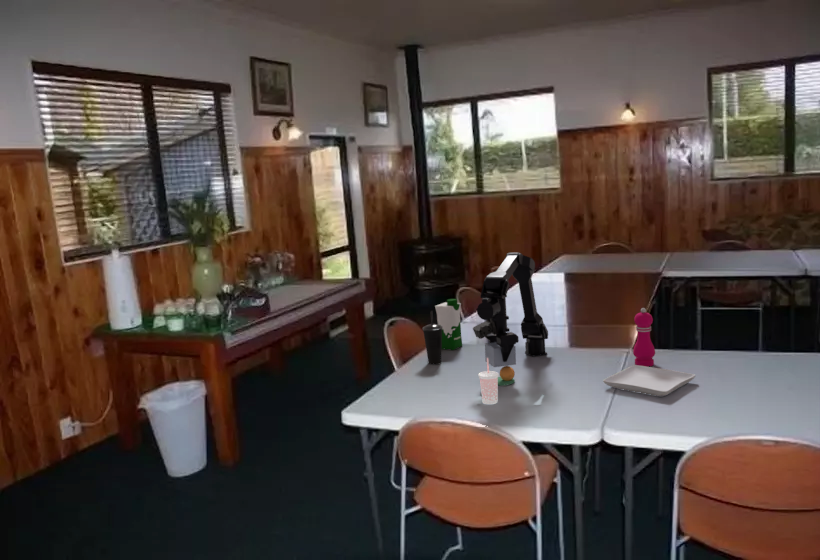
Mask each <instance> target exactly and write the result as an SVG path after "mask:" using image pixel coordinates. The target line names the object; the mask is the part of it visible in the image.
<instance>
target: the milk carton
mask: <svg viewBox="0 0 820 560" xmlns="http://www.w3.org/2000/svg"><path fill="white" fill-rule="evenodd" d="M461 305H462V303H461V302H458V299H457V298H448V299H446V301H445V302H441V303H440V304H437V305H434V307H435V312H436V320H437V325H440V326H442V327H443V329H442V350H447V349H451V350H450V351H455V350H457V349H459V348H461V347H463V339H462V327H461ZM460 346H461V347H460ZM458 347H459V348H458ZM456 348H457V349H456ZM454 349H455V350H454Z"/></svg>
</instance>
